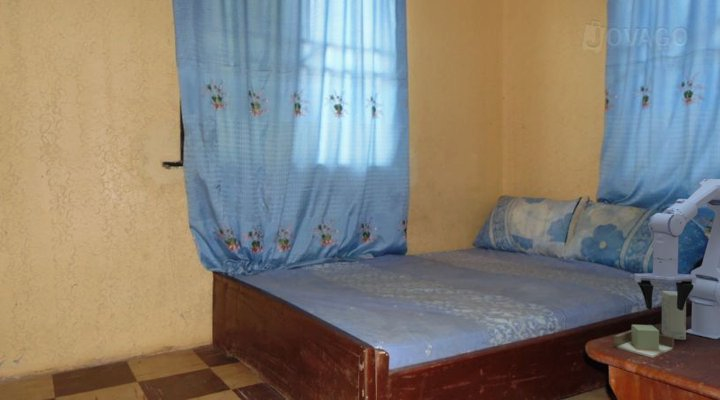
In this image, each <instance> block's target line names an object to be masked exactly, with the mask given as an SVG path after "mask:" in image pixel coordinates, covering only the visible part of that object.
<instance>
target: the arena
mask: <svg viewBox="0 0 720 400" xmlns="http://www.w3.org/2000/svg"><path fill="white" fill-rule="evenodd" d="M613 348H615V349H616V348H617V349H620V350H622V351H626V352H630V353H633V354H637V355H641V356H645V357H649V358H655V357H657V356H660V355H662V354H665V353H667V352H669V351H672V350H674V349H675V339H674V337H670V336H666V335H664V334H663V333H659V350H641V349H637V348H636V347H635V346H634V345H633V344H632V343H631V329H629V330H628V331H624V332H621V333H618V334H616V335H614V336H613Z"/></svg>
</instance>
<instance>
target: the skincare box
mask: <svg viewBox="0 0 720 400" xmlns="http://www.w3.org/2000/svg"><path fill="white" fill-rule="evenodd" d="M686 330H687V301H686V302H685V305H684V308H683V310H679V309H677V290H676V291H675V290H674V291H673V290H661V334H662V335H666V336H670V337H674V340H682V341H683V340H686V339H687V333H686Z"/></svg>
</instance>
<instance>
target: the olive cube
mask: <svg viewBox="0 0 720 400" xmlns="http://www.w3.org/2000/svg"><path fill="white" fill-rule="evenodd" d="M630 330H631V343H632V344H633V345H634V346H635V347H636V348H637V349H641V350H659V334H660V331H659V329H657V328H656V327H655V326H653V324H631V329H630Z"/></svg>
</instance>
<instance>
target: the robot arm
mask: <svg viewBox="0 0 720 400" xmlns="http://www.w3.org/2000/svg"><path fill="white" fill-rule="evenodd" d="M697 187H698V188H697V190H695V192H693V193H692V194H691V195H689V197H688V198H677V200H675V203H673V204H671V206H669V207H668V208H665V210H663V211H662V212H656V213H654V214H653V215H652V216H651V217H650V218H649V222H648V224H647V225H648V230H649V231H650V237H651V238H650V239H651V240H652V241H653V244H652V245H653V246H652V247H653V248H652V249H653V251H652V252H653V253H652V272H650V273H649V272H647V273H646V272H645V273H634V281H635V282H636V283H637V285H638V287H639V288H640V290H641V293H642V295H643V298H644V302H645V308H646V309H647V310H652V309H653V291H654V288H655V286H654V285H652V283H675V285H676V291H677V309H679V310H683V308H684V305H685V302H686V303H687V299H688V298H689V301H691V328H689V329H686V334H687V333H688V334H689V335H695V336H698V337H699V336H701V337H704V338H709V339H713V340H718V339H720V178H719V179H718V178H704V179H703V180H702V181H700V182H699V184H698V186H697ZM705 205H706V206H707V207H708V209H709V210H711V211H713V212H714V214H715V215H714V219H713V222H712V226H711V229H710V233H709V238H708V241H707V245H706V249H705V251H704V255H703V259H702V263H701V265H700V266H699V267H696V268H695V269H692V270H691V272H690V274H688V273H687V274H685V273H678V271H679V268H678V265H679V236H680V235H682V233H683V232H684V228H685V227H686V225H687V223H689V222H690V221H691V220H692V219H694V218H695V217H696V216H697V215H698V212H699V211H698V209H699V208H701V207H703V206H705Z"/></svg>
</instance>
